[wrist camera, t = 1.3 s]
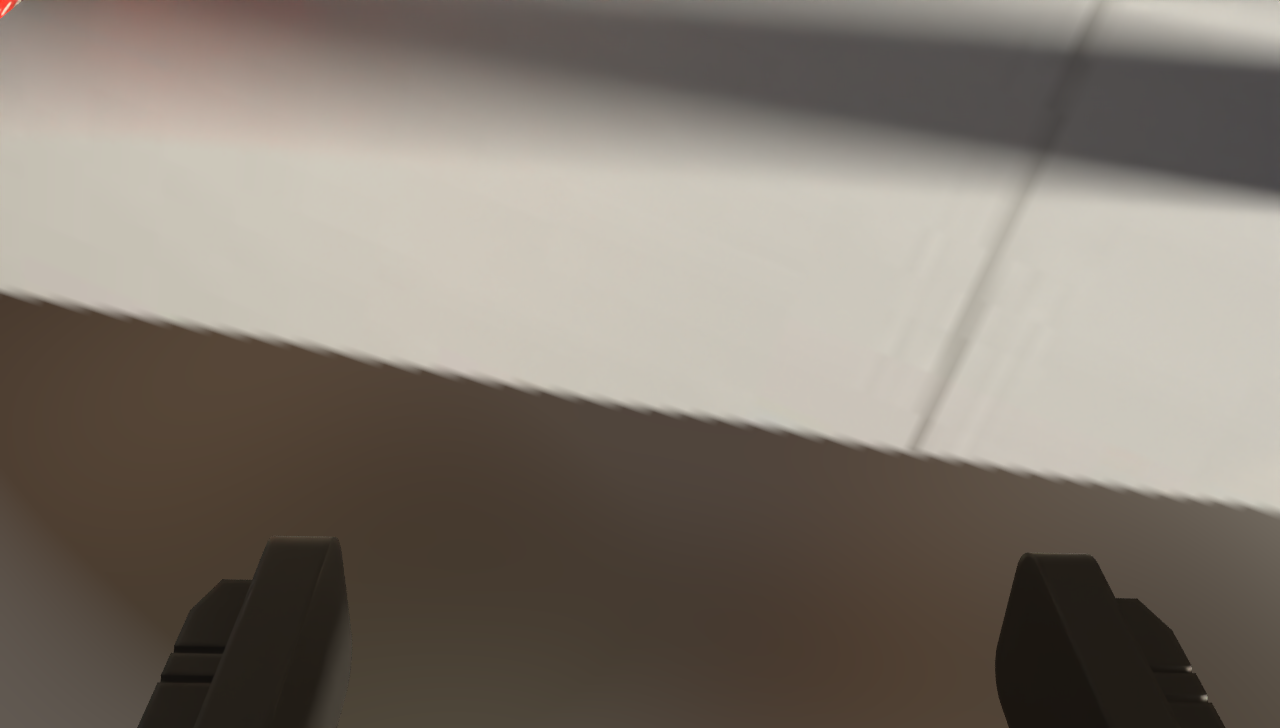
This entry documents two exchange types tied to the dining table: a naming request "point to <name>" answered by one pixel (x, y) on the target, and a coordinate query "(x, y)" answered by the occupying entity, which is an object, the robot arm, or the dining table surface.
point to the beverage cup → (7, 6)
